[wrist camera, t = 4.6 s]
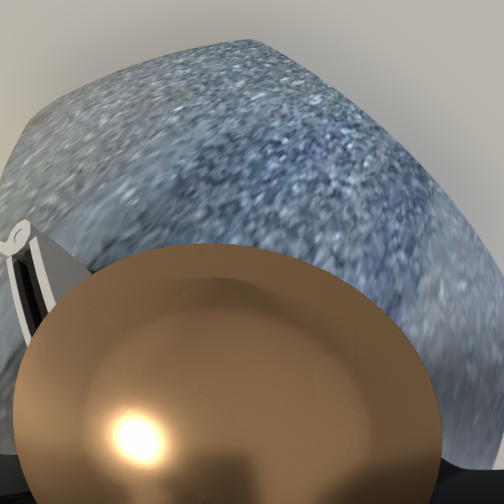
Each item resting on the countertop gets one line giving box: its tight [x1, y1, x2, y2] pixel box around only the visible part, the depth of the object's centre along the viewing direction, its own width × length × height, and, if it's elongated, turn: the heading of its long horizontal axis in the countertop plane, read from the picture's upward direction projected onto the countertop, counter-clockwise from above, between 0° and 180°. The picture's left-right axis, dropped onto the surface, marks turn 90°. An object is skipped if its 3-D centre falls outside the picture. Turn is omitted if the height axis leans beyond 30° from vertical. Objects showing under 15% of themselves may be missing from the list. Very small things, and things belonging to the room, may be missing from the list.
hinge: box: [0, 219, 92, 347], centre depth 18 cm, size 14×5×10 cm, turn 51°
